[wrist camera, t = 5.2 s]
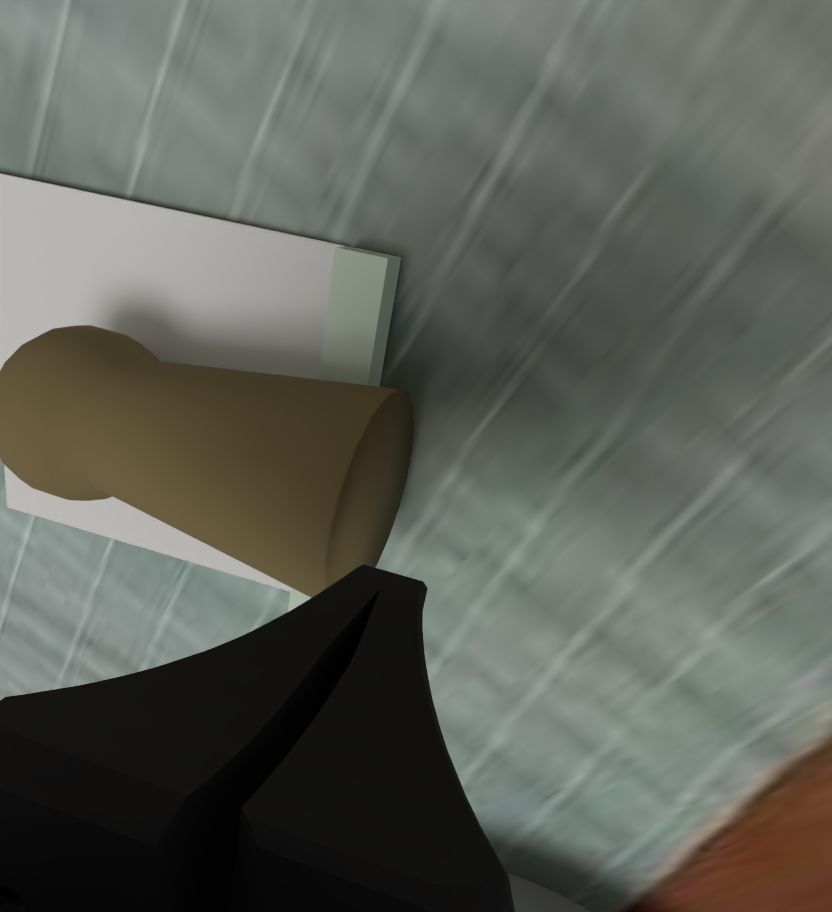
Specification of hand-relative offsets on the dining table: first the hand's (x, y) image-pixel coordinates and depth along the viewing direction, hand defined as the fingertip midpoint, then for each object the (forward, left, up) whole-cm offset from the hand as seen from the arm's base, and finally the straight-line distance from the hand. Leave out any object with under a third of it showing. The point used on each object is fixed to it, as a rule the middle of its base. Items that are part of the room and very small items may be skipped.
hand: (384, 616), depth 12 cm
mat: (+10, 0, -8) cm, 13 cm away
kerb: (+4, 0, -8) cm, 9 cm away
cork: (+1, 0, -5) cm, 5 cm away
